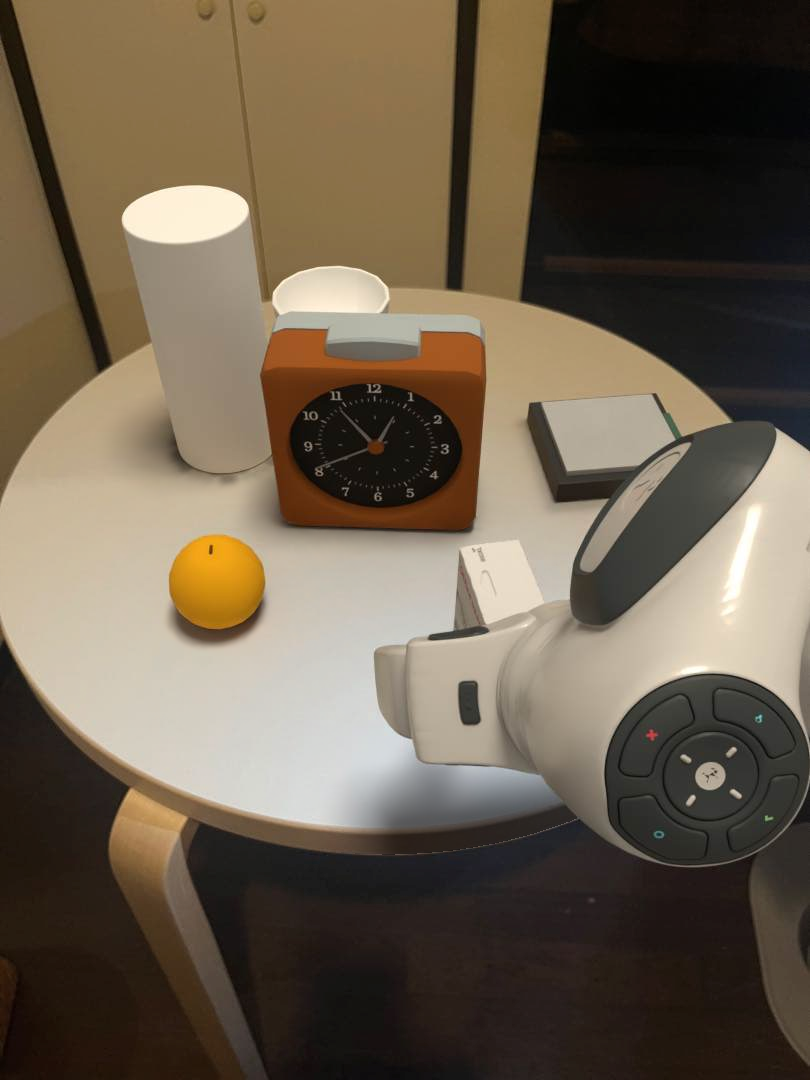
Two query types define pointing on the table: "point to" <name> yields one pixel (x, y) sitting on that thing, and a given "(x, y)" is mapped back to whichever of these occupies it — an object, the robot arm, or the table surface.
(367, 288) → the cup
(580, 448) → the scale
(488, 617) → the ink box
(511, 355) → the table surface
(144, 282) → the tall pillar cylinder
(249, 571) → the orange fruit with stem
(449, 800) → the table surface
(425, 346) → the alarm clock
